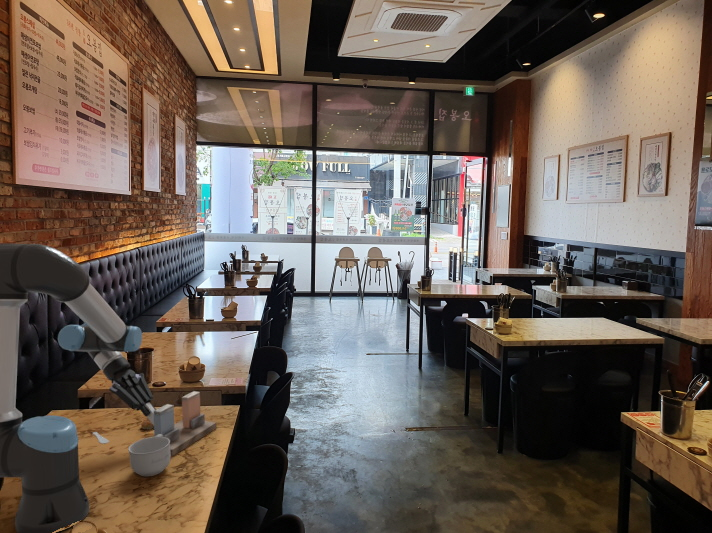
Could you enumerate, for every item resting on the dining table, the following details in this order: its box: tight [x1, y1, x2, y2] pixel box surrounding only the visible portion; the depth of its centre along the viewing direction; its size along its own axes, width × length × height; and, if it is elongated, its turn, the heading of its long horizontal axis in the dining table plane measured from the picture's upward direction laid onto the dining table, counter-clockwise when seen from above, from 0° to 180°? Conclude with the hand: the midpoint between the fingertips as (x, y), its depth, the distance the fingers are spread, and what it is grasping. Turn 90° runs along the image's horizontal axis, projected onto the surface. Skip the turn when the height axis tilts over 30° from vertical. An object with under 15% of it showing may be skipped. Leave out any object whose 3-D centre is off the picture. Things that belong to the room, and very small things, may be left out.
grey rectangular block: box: [153, 403, 175, 437], centre depth 163 cm, size 6×2×10 cm, turn 160°
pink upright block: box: [181, 390, 201, 428], centre depth 175 cm, size 6×2×10 cm, turn 160°
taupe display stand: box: [152, 413, 217, 457], centre depth 169 cm, size 22×12×5 cm, turn 160°
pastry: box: [140, 417, 154, 430], centre depth 180 cm, size 9×7×4 cm
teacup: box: [127, 434, 172, 477], centre depth 149 cm, size 14×11×8 cm
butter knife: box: [92, 431, 110, 445], centre depth 175 cm, size 1×24×3 cm
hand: (157, 422), depth 164 cm, fingers closed
